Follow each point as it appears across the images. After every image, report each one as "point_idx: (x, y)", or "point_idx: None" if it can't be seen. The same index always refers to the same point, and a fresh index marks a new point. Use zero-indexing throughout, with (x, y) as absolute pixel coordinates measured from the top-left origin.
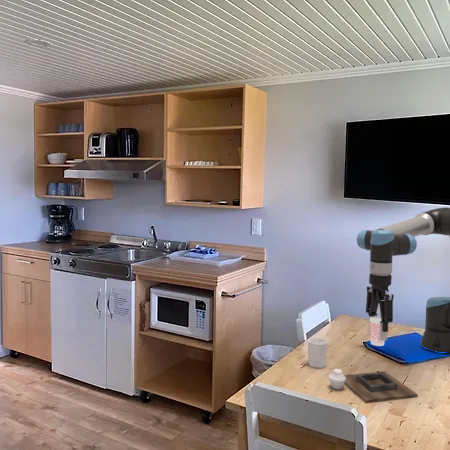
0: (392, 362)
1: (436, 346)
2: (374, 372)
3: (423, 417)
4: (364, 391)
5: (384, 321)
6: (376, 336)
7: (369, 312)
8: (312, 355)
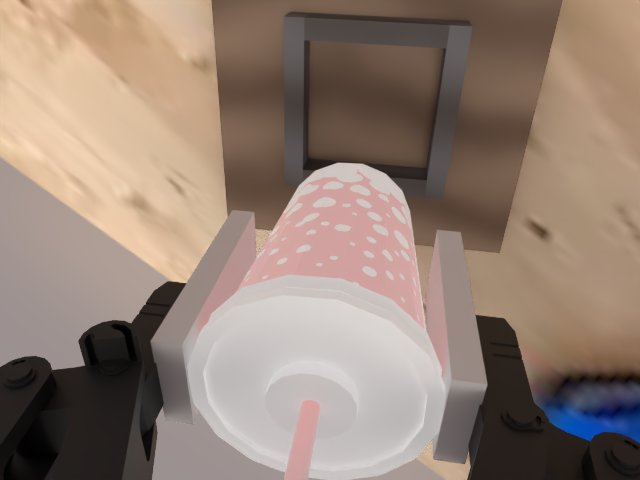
0: (593, 358)
1: None
2: (511, 194)
3: (57, 117)
4: None
5: (91, 374)
6: (284, 218)
7: (520, 447)
8: None
